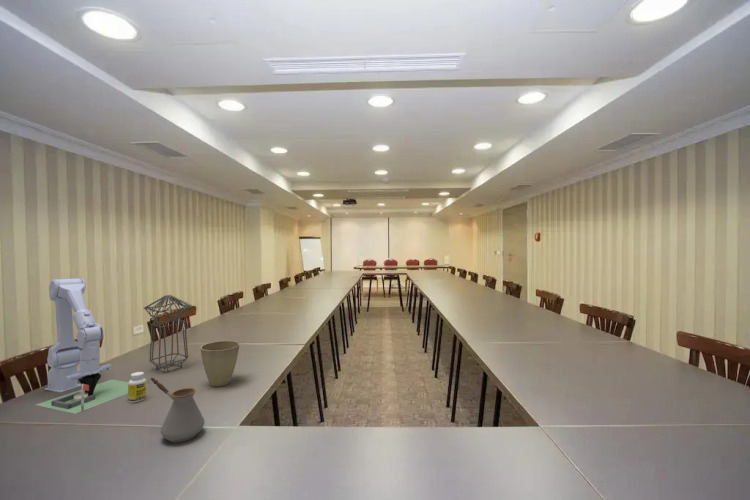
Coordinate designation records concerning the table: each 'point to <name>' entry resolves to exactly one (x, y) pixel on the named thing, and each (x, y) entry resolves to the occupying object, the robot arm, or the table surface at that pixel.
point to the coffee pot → (181, 415)
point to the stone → (79, 396)
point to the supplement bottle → (137, 387)
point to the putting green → (102, 395)
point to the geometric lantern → (163, 299)
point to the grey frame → (62, 401)
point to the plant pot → (219, 361)
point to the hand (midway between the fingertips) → (89, 394)
